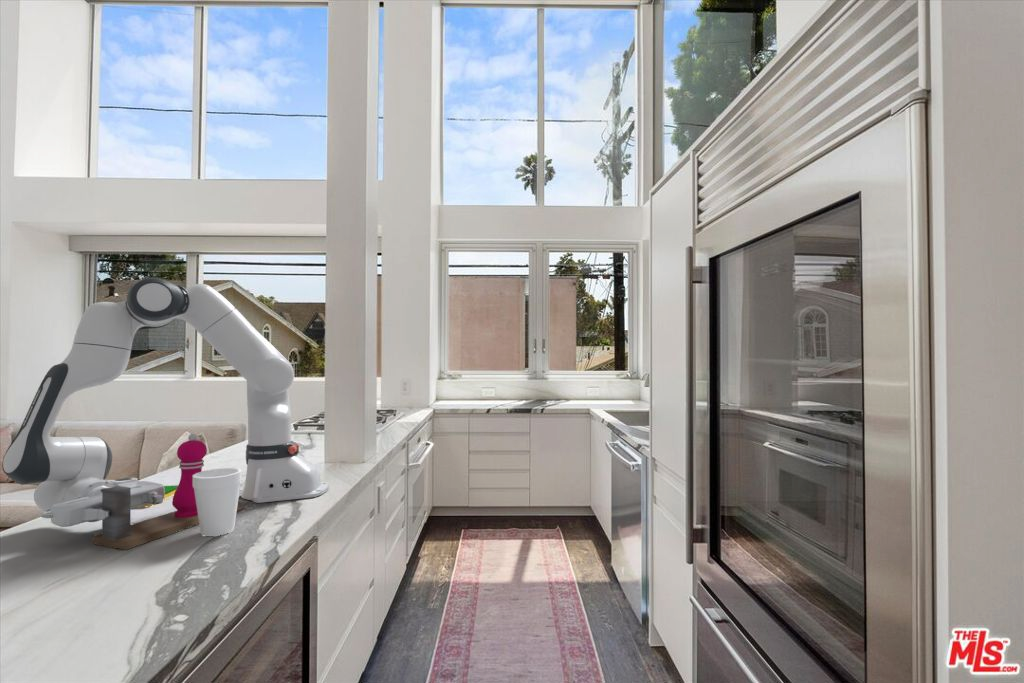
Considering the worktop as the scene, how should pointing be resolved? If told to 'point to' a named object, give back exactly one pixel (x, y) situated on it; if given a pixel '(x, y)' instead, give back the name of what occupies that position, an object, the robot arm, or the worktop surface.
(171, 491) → the dish sponge
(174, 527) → the strip
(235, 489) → the foam cup
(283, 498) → the robot arm
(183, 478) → the pepper mill
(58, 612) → the worktop surface
